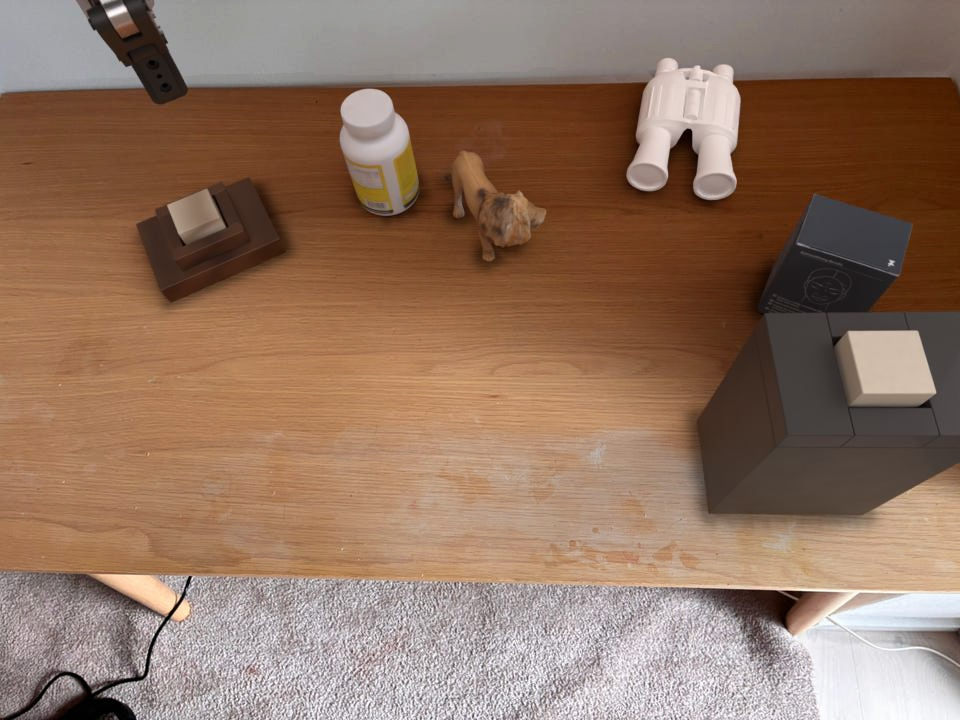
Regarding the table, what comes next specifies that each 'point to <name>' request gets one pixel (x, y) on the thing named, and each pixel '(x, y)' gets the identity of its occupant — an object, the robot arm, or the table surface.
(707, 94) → the binoculars
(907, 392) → the key near
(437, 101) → the table surface
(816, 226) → the box
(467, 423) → the table surface
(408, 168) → the pill bottle
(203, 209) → the key far
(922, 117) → the table surface
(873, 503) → the dark block with slot
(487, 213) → the lion figurine
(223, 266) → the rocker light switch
